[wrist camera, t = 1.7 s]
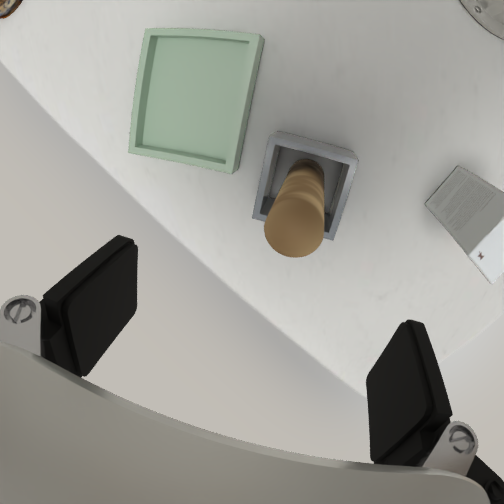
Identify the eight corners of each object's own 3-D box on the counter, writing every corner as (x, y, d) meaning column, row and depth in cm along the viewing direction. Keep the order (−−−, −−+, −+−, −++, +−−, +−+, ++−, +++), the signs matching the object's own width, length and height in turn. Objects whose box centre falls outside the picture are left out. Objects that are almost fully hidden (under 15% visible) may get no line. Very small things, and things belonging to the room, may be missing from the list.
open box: (353, 151, 28) (358, 160, 24) (332, 220, 32) (333, 240, 28) (277, 130, 29) (269, 136, 25) (261, 201, 33) (251, 218, 29)
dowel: (328, 164, 30) (331, 211, 18) (318, 197, 31) (314, 264, 19) (293, 155, 30) (271, 194, 18) (285, 188, 32) (258, 248, 20)
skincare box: (446, 228, 29) (490, 287, 19) (423, 203, 29) (465, 256, 19) (480, 190, 26) (538, 235, 16) (458, 163, 26) (517, 199, 16)
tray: (264, 39, 25) (259, 34, 23) (238, 168, 32) (231, 174, 30) (156, 31, 26) (145, 28, 24) (139, 149, 33) (128, 153, 31)
